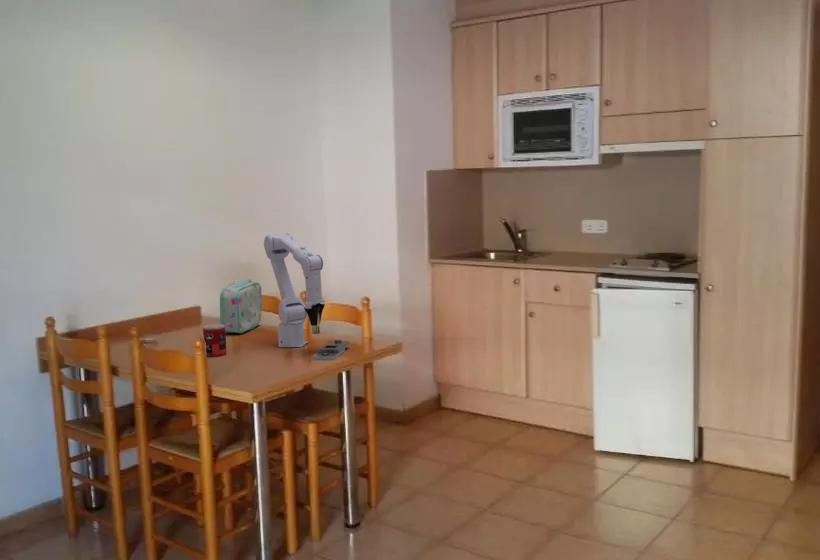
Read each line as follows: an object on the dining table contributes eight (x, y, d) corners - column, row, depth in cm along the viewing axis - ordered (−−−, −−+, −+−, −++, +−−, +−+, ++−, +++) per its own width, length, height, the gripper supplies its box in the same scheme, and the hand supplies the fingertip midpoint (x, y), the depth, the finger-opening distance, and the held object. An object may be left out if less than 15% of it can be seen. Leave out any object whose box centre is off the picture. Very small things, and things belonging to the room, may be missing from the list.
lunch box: (243, 323, 366) (240, 276, 363) (265, 323, 364) (262, 276, 361) (218, 336, 340) (215, 285, 337) (241, 336, 338) (238, 285, 335)
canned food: (203, 354, 306) (201, 325, 305) (224, 351, 309) (222, 323, 308) (206, 358, 299) (204, 328, 298) (228, 355, 302) (226, 326, 301)
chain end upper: (317, 352, 295) (317, 347, 295) (329, 344, 309) (328, 339, 309) (338, 352, 294) (338, 347, 293) (349, 344, 307) (349, 339, 307)
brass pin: (310, 333, 300) (309, 312, 299) (313, 332, 303) (312, 311, 302) (318, 333, 300) (317, 312, 299) (321, 332, 303) (320, 311, 302)
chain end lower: (312, 359, 290) (311, 354, 289) (324, 350, 303) (324, 346, 303) (333, 360, 288) (333, 355, 288) (345, 351, 302) (344, 346, 301)
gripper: (317, 291, 291) (319, 328, 293) (330, 285, 306) (331, 320, 307) (298, 291, 293) (301, 328, 295) (312, 285, 307) (314, 320, 309)
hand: (315, 324), depth 301 cm, fingers closed on brass pin, 3 cm apart
